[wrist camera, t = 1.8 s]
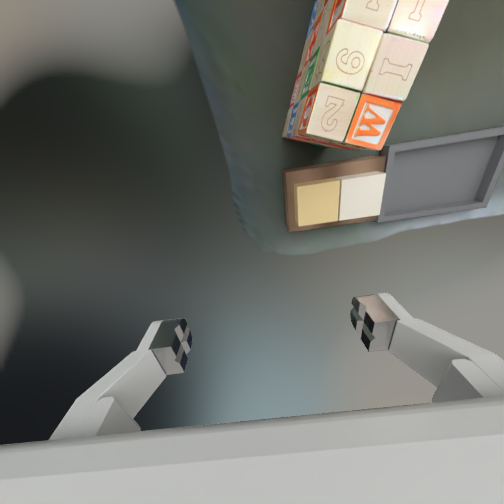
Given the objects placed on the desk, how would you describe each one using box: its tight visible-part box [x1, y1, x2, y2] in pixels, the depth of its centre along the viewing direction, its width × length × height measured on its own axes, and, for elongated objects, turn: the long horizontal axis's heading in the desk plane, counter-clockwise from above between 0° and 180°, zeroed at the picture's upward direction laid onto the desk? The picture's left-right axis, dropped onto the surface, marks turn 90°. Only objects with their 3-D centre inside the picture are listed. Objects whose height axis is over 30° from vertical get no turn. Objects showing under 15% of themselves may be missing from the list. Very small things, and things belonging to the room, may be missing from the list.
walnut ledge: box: [282, 155, 386, 232], centre depth 27 cm, size 12×8×3 cm, turn 98°
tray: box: [374, 126, 504, 223], centre depth 27 cm, size 15×10×2 cm, turn 98°
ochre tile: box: [294, 178, 340, 226], centre depth 25 cm, size 5×5×2 cm
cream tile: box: [336, 171, 386, 221], centre depth 25 cm, size 5×5×2 cm
